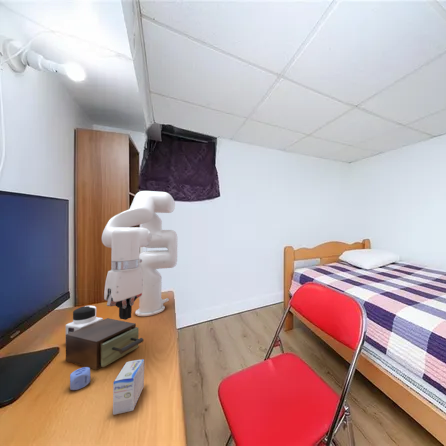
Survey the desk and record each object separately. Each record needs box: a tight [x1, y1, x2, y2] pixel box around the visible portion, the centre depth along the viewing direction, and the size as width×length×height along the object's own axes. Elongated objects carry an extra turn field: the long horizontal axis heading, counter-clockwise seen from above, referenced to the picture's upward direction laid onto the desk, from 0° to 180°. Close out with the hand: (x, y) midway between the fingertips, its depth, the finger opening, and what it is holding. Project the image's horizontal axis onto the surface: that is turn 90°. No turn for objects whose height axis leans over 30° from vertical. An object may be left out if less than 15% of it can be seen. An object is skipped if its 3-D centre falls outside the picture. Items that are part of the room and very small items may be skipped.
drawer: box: [99, 326, 144, 368], centre depth 75 cm, size 18×11×7 cm, turn 75°
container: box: [65, 305, 104, 335], centre depth 84 cm, size 8×8×13 cm
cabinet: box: [65, 317, 137, 371], centre depth 76 cm, size 15×13×9 cm
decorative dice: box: [69, 366, 91, 391], centre depth 62 cm, size 4×4×4 cm
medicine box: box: [112, 358, 145, 416], centre depth 57 cm, size 8×4×9 cm, turn 20°
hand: (125, 318), depth 73 cm, fingers closed
